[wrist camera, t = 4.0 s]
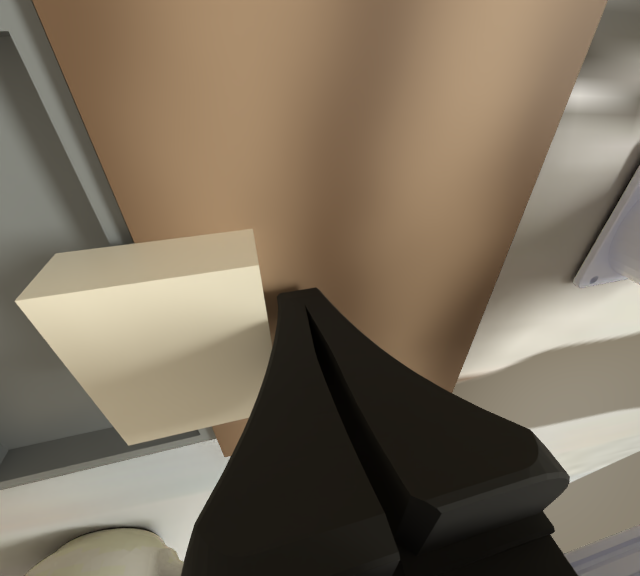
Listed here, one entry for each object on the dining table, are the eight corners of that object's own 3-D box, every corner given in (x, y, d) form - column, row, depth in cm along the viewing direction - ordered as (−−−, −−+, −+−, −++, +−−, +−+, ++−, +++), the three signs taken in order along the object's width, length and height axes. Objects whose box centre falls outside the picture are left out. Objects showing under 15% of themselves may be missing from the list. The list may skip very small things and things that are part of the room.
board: (544, -39, 9) (633, -66, 7) (426, 367, 20) (448, 400, 18) (55, -60, 7) (-14, -109, 5) (224, 412, 17) (224, 457, 15)
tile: (252, 228, 9) (258, 265, 7) (275, 365, 12) (282, 409, 11) (55, 253, 8) (14, 301, 6) (141, 393, 12) (128, 445, 10)
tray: (69, 3, 7) (26, -12, 6) (217, 403, 17) (216, 438, 15) (-561, -3, 5) (-883, -29, 4) (7, 448, 15) (-18, 494, 13)
